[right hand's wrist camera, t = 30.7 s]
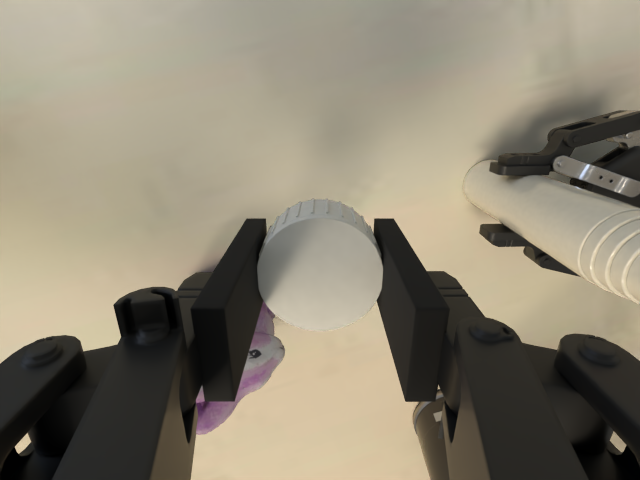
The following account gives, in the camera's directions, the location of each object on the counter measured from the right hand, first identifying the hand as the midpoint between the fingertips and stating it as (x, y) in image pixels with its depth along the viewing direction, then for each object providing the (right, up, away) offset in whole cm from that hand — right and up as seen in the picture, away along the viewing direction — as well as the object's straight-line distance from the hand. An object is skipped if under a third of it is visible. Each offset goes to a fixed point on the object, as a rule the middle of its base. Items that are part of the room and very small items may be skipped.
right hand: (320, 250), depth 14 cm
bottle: (+16, +6, +20) cm, 27 cm away
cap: (0, -1, -2) cm, 2 cm away
